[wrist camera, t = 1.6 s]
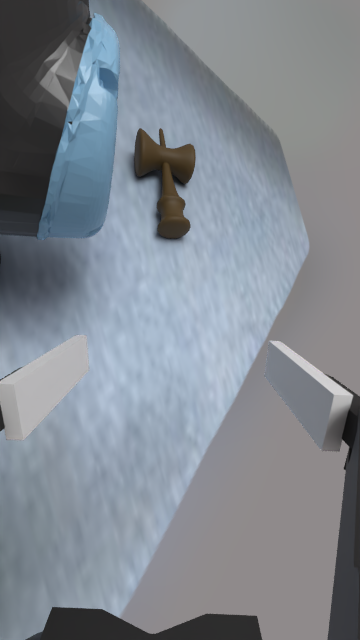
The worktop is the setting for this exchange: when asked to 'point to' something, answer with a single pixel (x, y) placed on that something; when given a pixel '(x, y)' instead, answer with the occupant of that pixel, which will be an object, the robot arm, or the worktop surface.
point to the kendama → (166, 179)
